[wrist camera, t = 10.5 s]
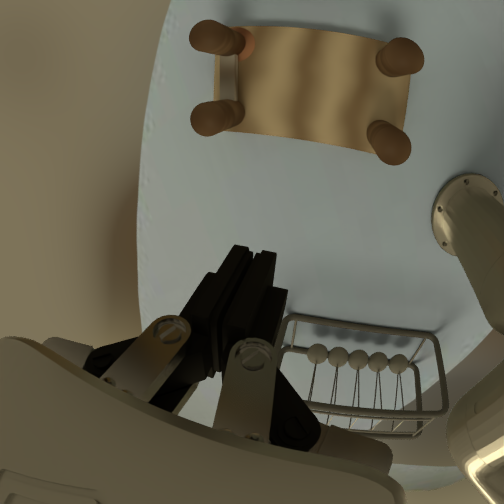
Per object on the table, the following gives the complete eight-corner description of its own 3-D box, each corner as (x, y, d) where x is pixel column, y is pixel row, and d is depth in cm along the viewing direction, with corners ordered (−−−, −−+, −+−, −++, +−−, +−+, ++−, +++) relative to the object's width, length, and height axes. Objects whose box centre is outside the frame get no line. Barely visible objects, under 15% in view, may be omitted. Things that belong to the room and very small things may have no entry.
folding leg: (244, 127, 32) (223, 136, 26) (217, 126, 33) (191, 136, 27) (245, 29, 25) (223, 17, 19) (216, 32, 26) (189, 22, 20)
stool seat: (408, 51, 23) (432, 40, 15) (394, 155, 31) (411, 178, 23) (223, 30, 27) (187, 16, 20) (218, 128, 35) (184, 141, 27)
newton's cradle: (438, 332, 43) (451, 415, 28) (416, 364, 48) (421, 440, 34) (284, 310, 49) (258, 396, 35) (280, 346, 55) (257, 423, 41)
